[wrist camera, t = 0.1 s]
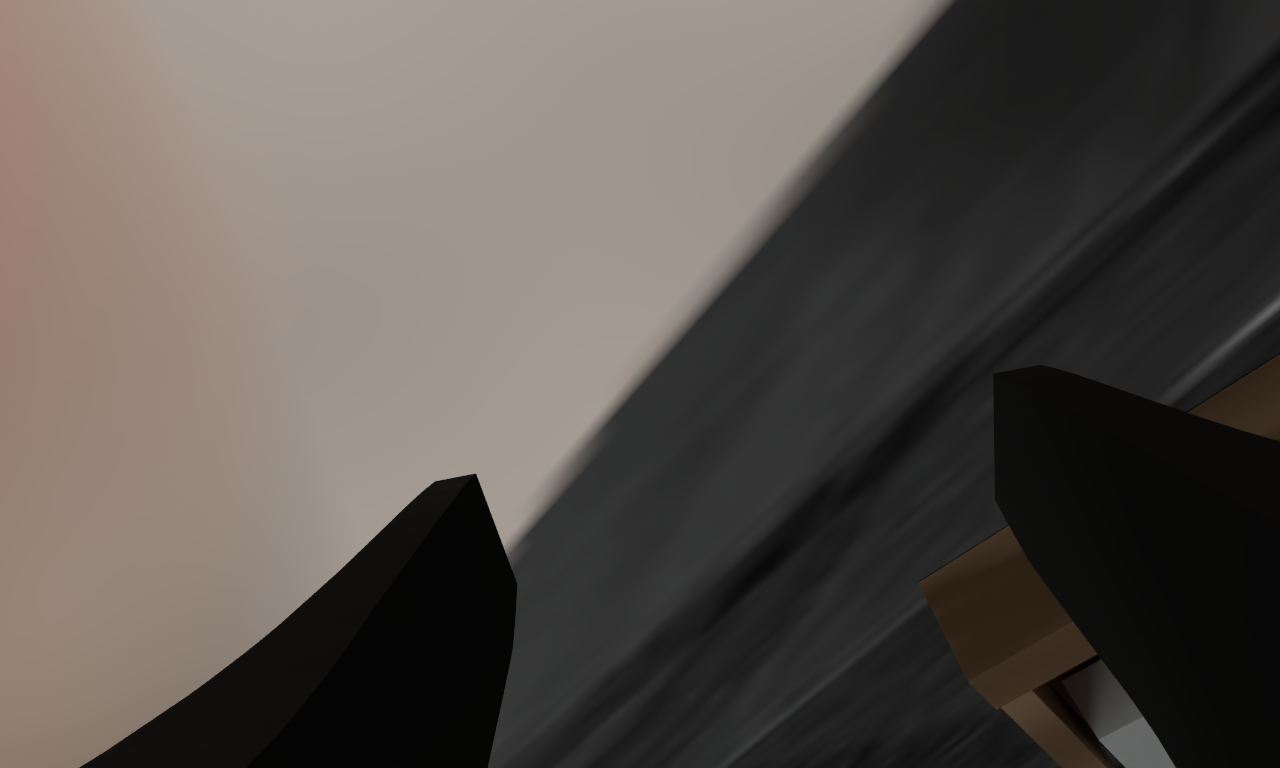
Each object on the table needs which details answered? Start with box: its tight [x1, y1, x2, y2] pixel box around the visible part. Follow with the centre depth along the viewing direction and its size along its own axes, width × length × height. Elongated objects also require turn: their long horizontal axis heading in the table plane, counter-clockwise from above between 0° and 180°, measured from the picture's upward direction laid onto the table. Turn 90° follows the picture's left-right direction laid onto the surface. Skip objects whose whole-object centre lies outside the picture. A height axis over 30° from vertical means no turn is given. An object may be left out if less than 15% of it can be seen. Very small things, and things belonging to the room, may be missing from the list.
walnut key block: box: [919, 354, 1280, 768], centre depth 21 cm, size 8×16×4 cm, turn 133°
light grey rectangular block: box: [1062, 660, 1176, 768], centre depth 24 cm, size 8×3×2 cm, turn 43°
